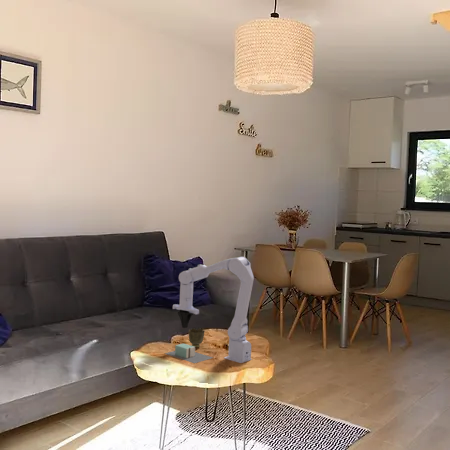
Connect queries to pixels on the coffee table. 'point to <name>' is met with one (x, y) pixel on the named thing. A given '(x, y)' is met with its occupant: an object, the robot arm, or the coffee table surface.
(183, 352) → the block
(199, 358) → the mat
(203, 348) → the coffee table surface
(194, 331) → the cup
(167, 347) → the coffee table surface
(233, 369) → the coffee table surface
